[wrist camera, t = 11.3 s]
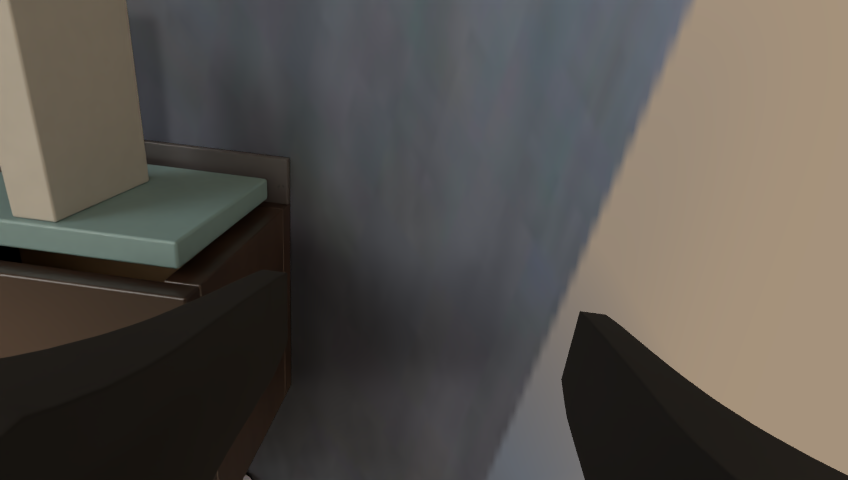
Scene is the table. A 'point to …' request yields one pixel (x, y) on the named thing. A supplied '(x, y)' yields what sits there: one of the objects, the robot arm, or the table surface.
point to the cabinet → (156, 282)
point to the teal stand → (94, 146)
